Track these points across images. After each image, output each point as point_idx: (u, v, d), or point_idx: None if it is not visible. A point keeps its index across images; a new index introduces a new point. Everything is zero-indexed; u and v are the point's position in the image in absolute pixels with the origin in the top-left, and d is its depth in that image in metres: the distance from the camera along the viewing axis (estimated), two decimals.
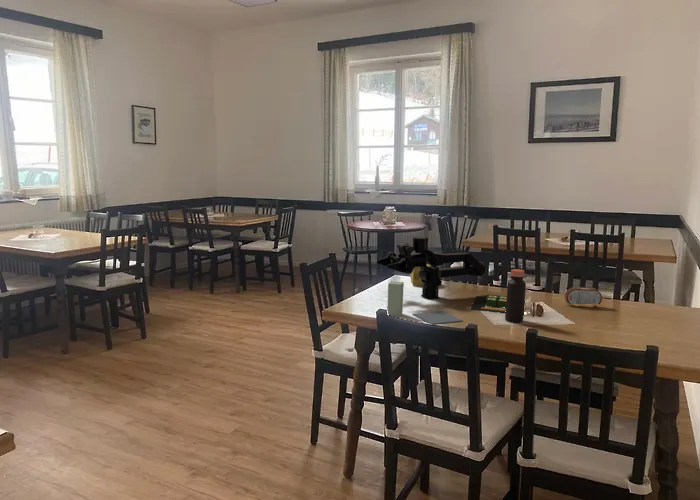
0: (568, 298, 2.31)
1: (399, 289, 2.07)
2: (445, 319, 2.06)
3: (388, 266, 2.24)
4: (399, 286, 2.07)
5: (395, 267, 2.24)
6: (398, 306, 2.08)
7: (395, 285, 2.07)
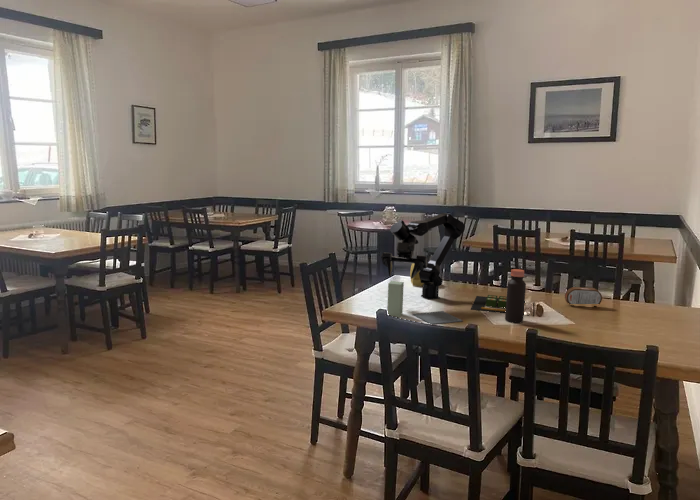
0: (568, 298, 2.31)
1: (399, 289, 2.07)
2: (445, 319, 2.06)
3: (412, 277, 2.16)
4: (399, 286, 2.07)
5: (415, 272, 2.18)
6: (398, 306, 2.08)
7: (395, 285, 2.07)
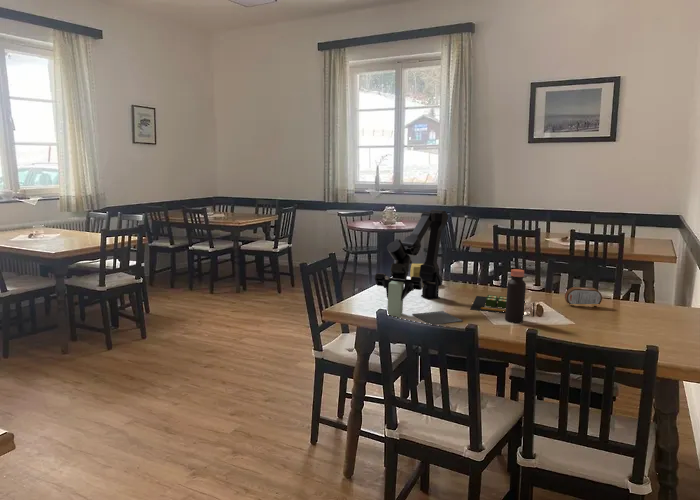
0: (568, 298, 2.31)
1: (399, 289, 2.07)
2: (445, 319, 2.06)
3: (402, 299, 2.09)
4: (399, 286, 2.07)
5: (406, 293, 2.11)
6: (398, 306, 2.08)
7: (395, 285, 2.07)
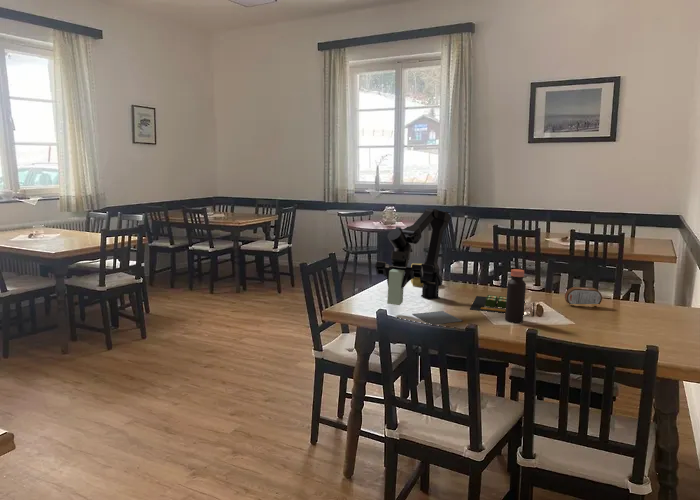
0: (568, 298, 2.31)
1: (400, 277, 2.06)
2: (445, 319, 2.06)
3: (402, 287, 2.08)
4: (400, 274, 2.06)
5: (406, 281, 2.10)
6: (398, 294, 2.08)
7: (396, 273, 2.07)
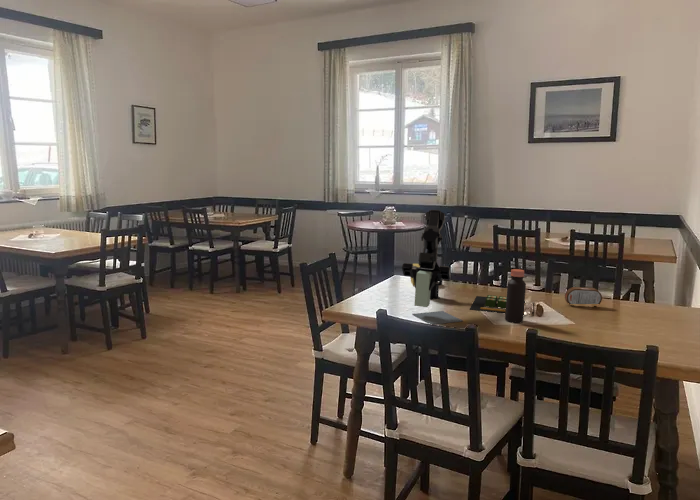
0: (568, 298, 2.31)
1: (427, 279, 2.04)
2: (445, 319, 2.06)
3: (430, 288, 2.06)
4: (427, 276, 2.04)
5: (433, 283, 2.08)
6: (426, 296, 2.06)
7: (423, 275, 2.05)
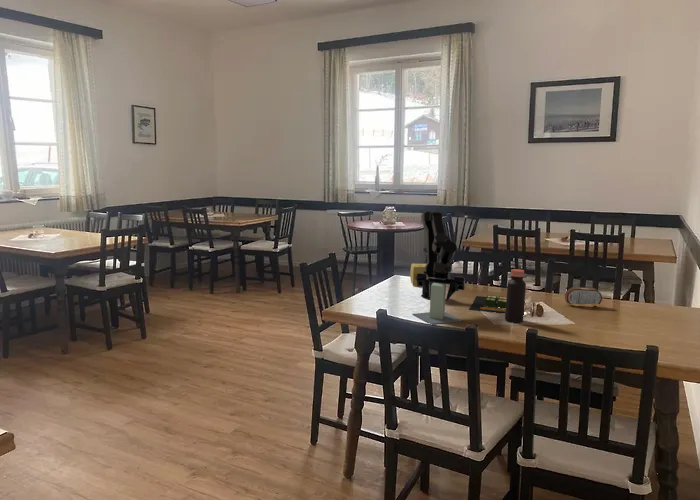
0: (568, 298, 2.31)
1: (442, 291, 2.04)
2: (445, 319, 2.06)
3: (447, 299, 2.05)
4: (442, 288, 2.04)
5: (451, 294, 2.07)
6: (441, 308, 2.05)
7: (438, 287, 2.04)
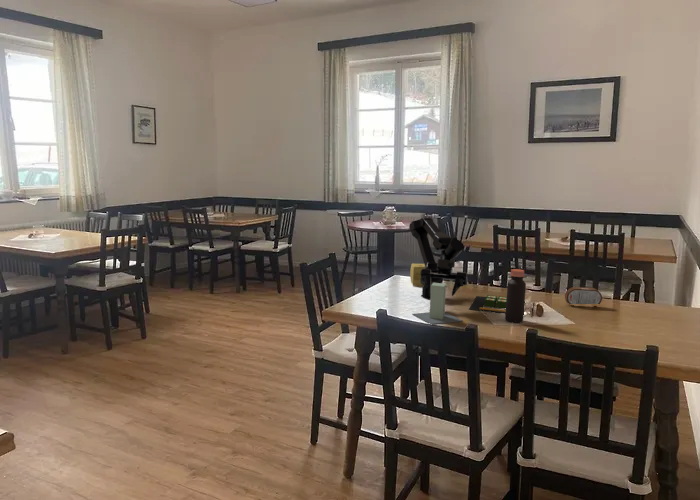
0: (568, 298, 2.31)
1: (442, 291, 2.04)
2: (445, 319, 2.06)
3: (453, 294, 2.14)
4: (442, 288, 2.04)
5: (456, 289, 2.16)
6: (441, 308, 2.05)
7: (438, 287, 2.04)
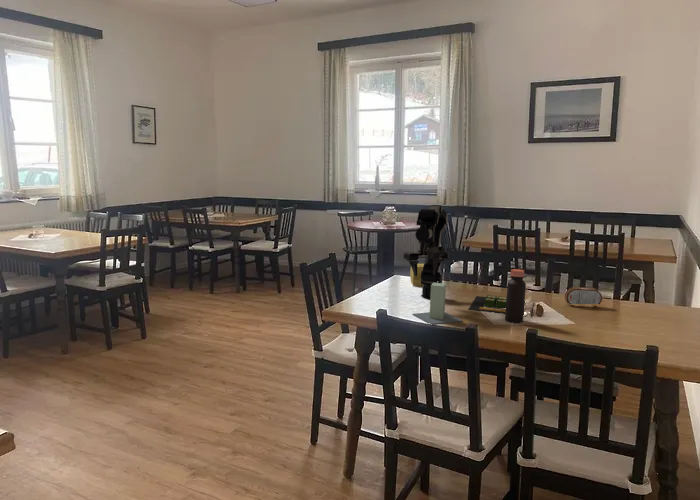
0: (568, 298, 2.31)
1: (442, 291, 2.04)
2: (445, 319, 2.06)
3: None
4: (442, 288, 2.04)
5: None
6: (441, 308, 2.05)
7: (438, 287, 2.04)
